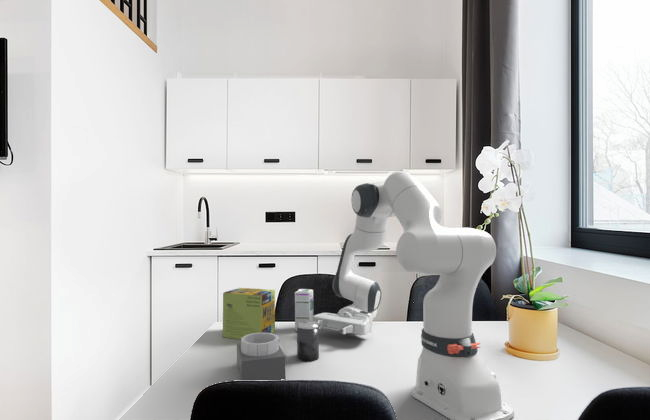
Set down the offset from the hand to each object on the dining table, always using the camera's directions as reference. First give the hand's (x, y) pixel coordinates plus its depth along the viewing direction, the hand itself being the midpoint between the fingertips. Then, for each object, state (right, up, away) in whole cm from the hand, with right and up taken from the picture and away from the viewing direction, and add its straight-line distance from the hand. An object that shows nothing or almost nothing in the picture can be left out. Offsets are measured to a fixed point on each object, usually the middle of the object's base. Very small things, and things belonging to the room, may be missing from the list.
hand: (328, 329), depth 122 cm
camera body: (-19, -5, -20) cm, 28 cm away
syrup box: (-9, -6, +18) cm, 21 cm away
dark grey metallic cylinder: (-6, -5, -10) cm, 13 cm away
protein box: (-28, -6, +11) cm, 31 cm away
